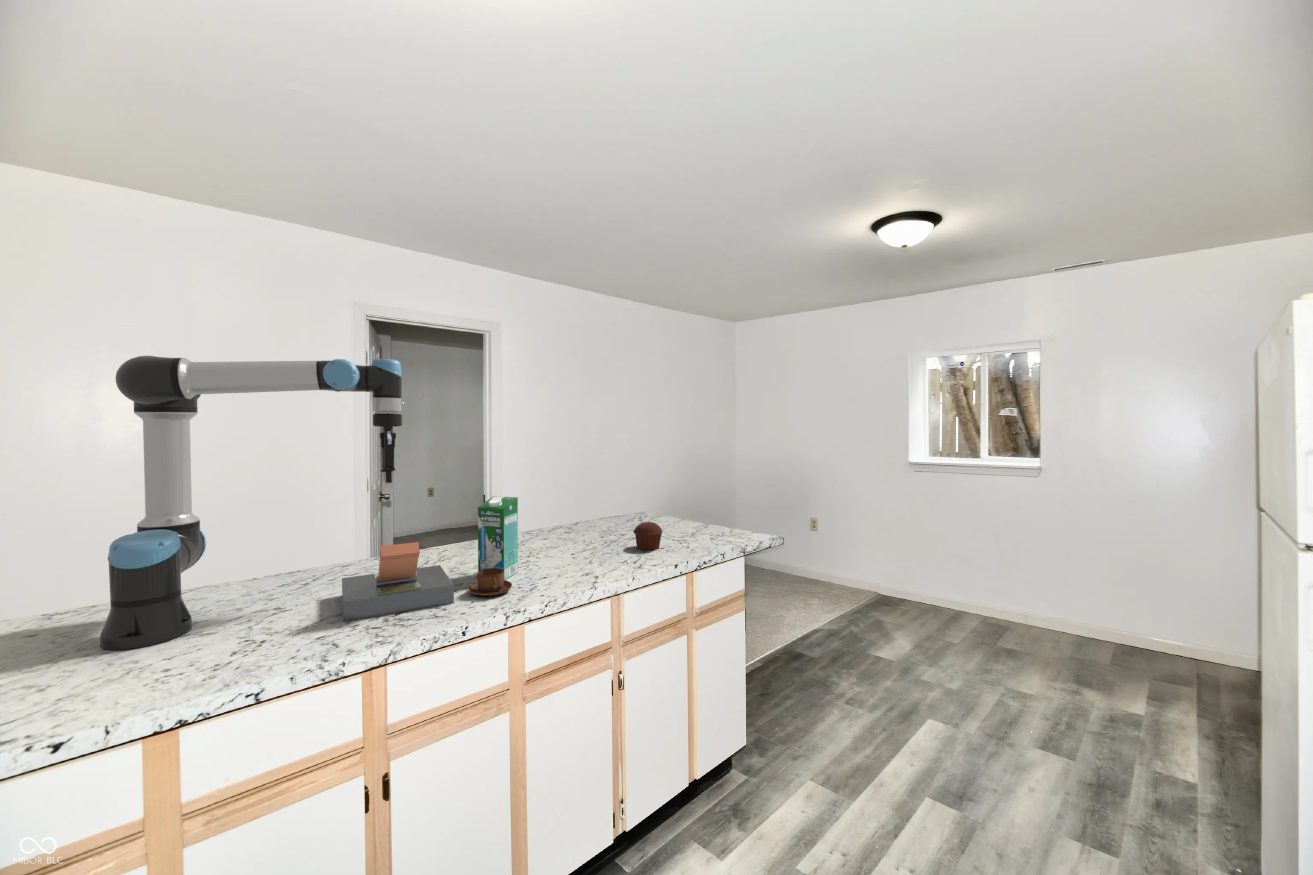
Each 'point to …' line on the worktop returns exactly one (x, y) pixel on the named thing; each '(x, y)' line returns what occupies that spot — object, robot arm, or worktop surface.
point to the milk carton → (498, 535)
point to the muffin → (648, 536)
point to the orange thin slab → (398, 562)
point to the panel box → (395, 593)
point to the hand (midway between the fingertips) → (388, 493)
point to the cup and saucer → (490, 583)
